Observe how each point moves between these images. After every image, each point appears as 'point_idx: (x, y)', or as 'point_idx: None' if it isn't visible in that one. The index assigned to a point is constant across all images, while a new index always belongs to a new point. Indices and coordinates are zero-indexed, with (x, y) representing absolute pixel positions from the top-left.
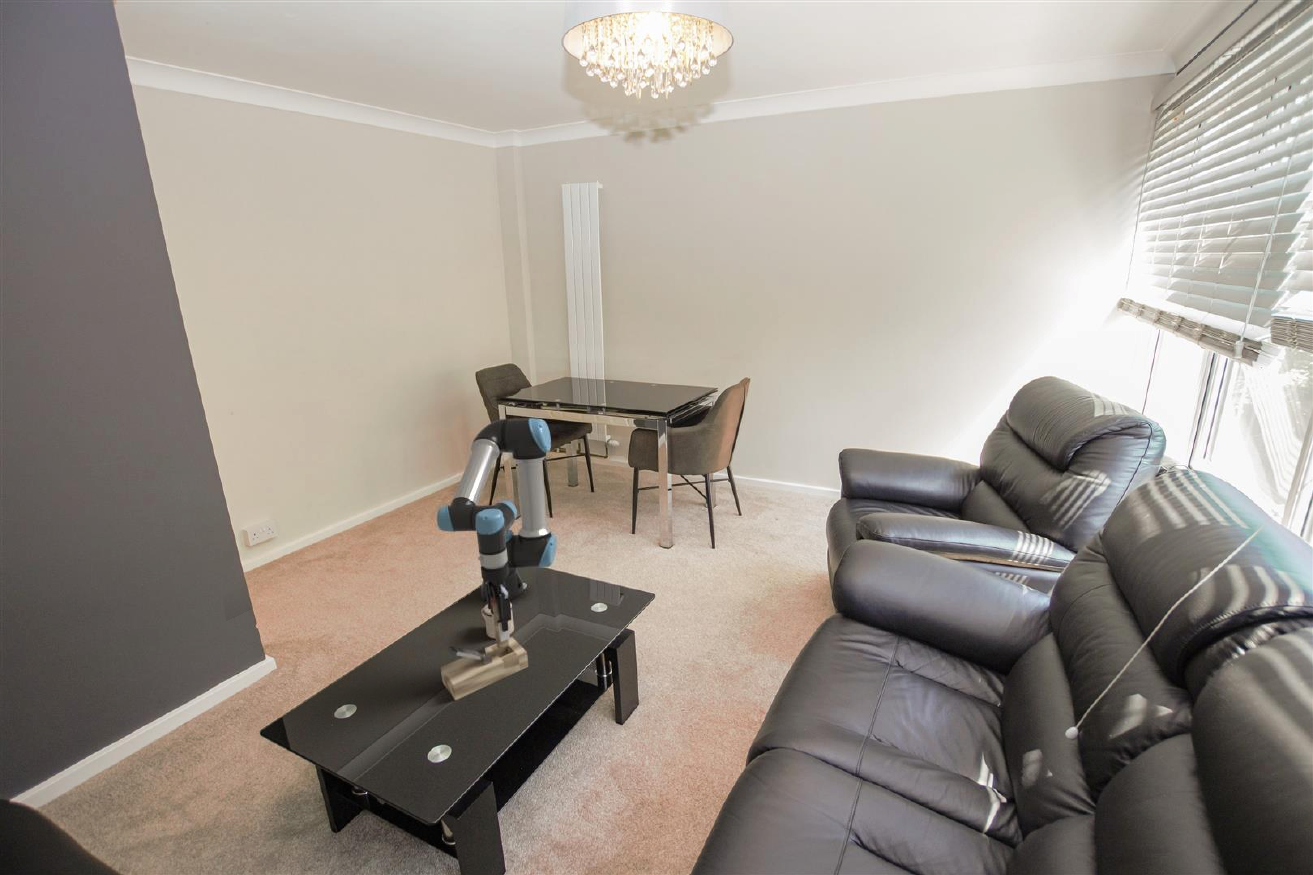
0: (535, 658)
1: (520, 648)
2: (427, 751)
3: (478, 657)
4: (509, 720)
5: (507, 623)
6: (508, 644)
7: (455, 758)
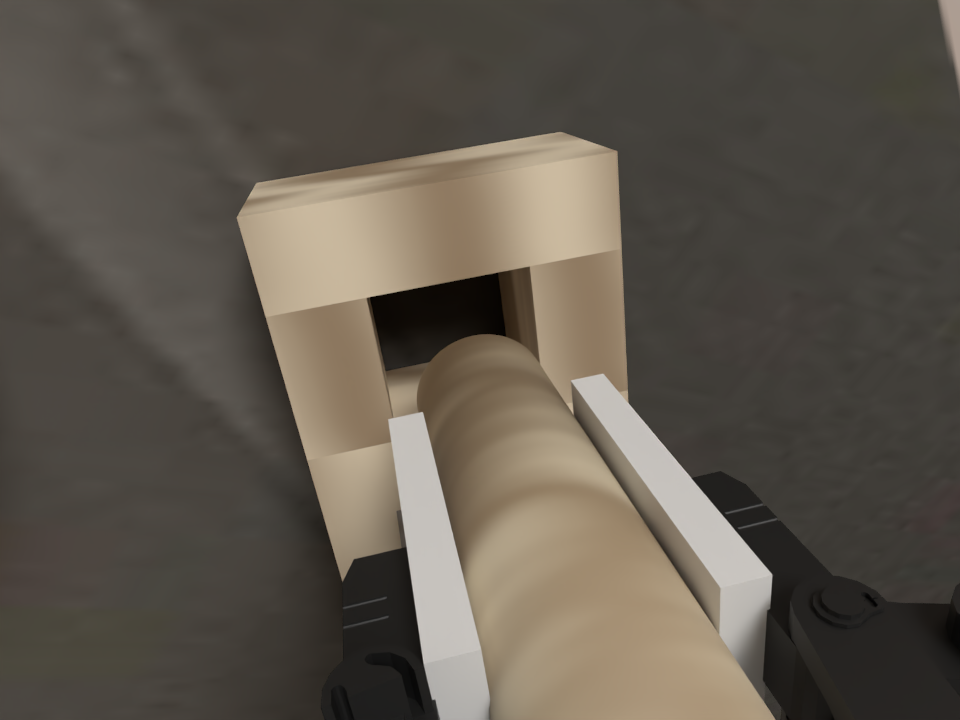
0: (484, 26)
1: (517, 194)
2: None
3: None
4: (943, 393)
5: (813, 558)
6: (517, 342)
7: None
